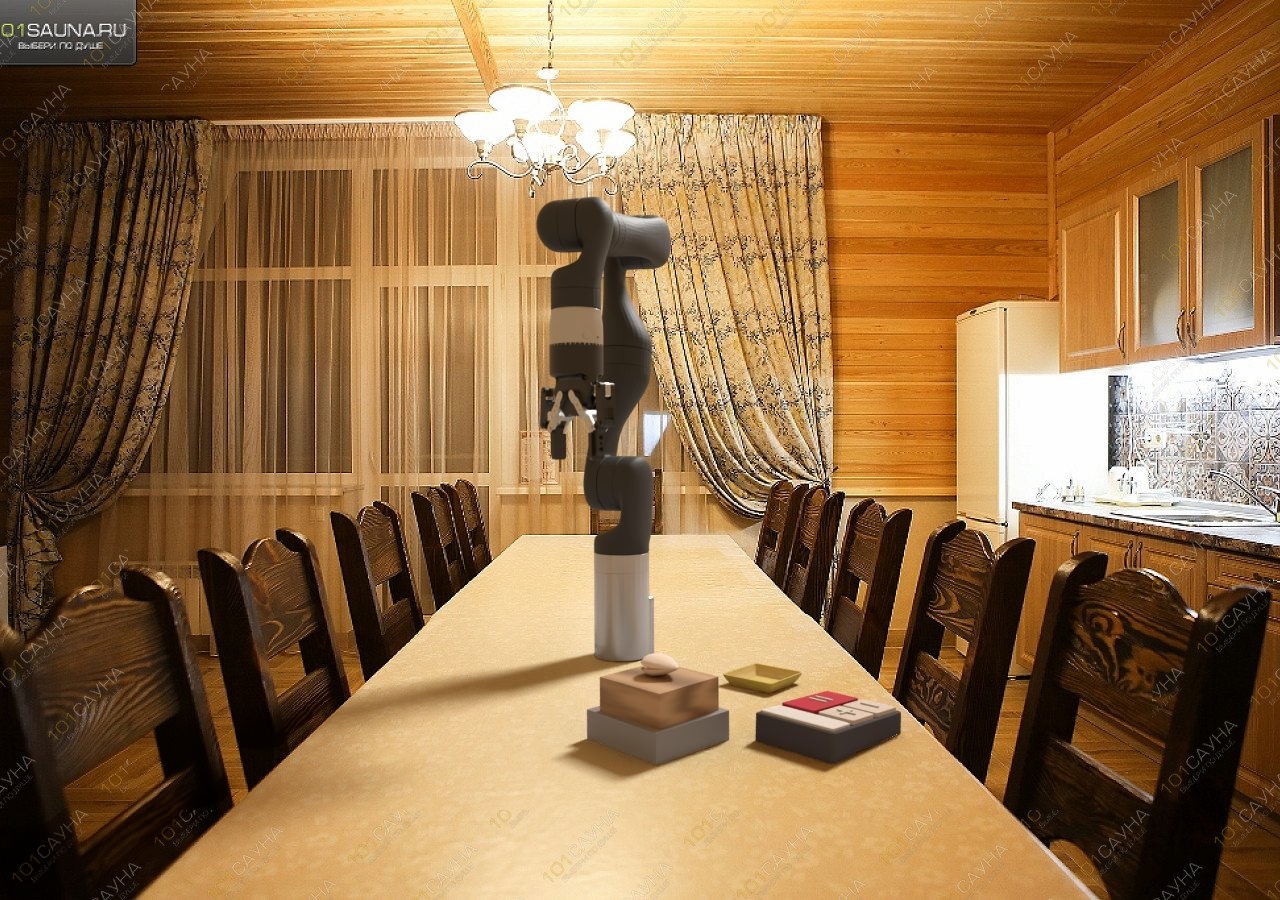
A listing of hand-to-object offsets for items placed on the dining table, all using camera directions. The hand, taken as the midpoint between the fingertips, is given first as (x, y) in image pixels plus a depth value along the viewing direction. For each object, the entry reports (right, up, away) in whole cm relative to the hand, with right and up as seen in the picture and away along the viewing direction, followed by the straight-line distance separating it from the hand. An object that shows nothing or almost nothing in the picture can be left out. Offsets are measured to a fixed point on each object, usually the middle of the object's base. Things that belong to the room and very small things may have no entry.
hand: (577, 459), depth 120 cm
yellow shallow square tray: (+27, -34, +6) cm, 43 cm away
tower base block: (+11, -34, -17) cm, 39 cm away
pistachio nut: (+11, -26, -17) cm, 33 cm away
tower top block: (+11, -30, -17) cm, 36 cm away
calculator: (+31, -34, -16) cm, 49 cm away
